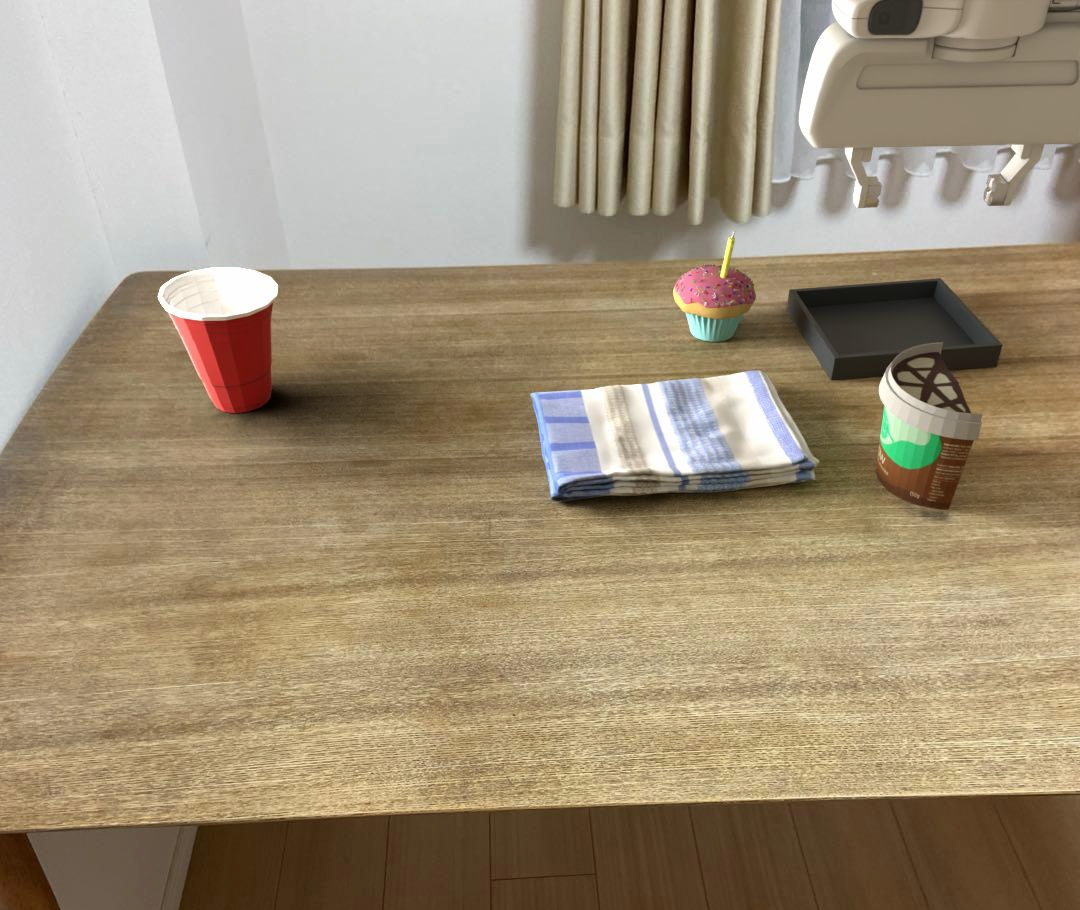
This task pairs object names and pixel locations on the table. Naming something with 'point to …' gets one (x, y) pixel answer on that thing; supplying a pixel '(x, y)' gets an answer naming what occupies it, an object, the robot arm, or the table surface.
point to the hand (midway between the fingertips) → (930, 204)
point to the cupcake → (715, 298)
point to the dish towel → (670, 438)
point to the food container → (924, 428)
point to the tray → (889, 326)
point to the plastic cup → (226, 332)
